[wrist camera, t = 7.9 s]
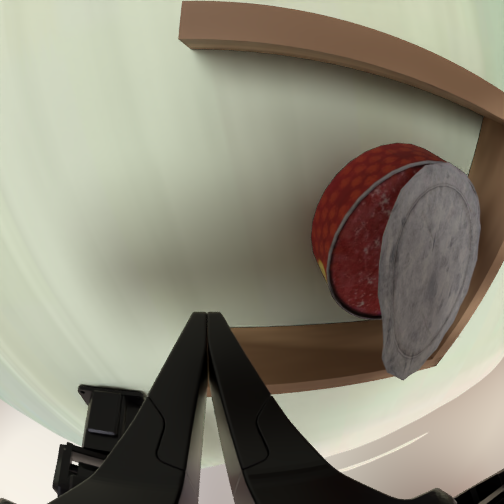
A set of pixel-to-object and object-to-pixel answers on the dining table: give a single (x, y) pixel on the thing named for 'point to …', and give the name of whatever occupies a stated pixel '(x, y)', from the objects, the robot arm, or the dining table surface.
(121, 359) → the dining table surface
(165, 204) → the dining table surface
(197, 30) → the shelf bay
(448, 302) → the canned food
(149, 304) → the dining table surface
